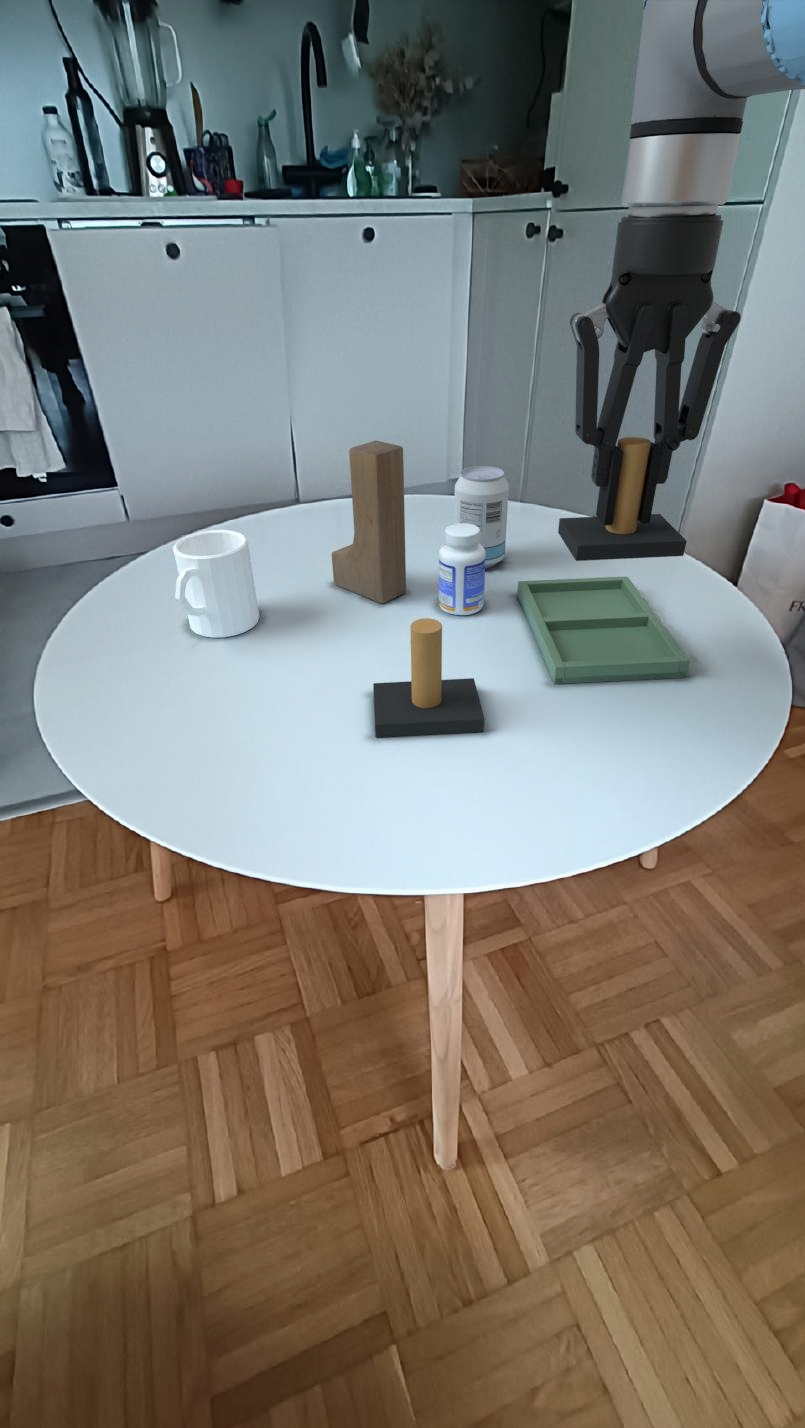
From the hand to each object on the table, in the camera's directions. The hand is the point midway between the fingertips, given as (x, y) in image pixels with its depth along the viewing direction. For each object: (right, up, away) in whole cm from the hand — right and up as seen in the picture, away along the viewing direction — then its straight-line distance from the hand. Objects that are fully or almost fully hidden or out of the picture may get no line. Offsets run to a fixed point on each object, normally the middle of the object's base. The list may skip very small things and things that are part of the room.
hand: (622, 518), depth 67 cm
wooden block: (-25, -2, +25) cm, 35 cm away
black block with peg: (-18, -18, +2) cm, 26 cm away
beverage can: (-10, +2, +31) cm, 33 cm away
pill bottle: (-13, -5, +20) cm, 25 cm away
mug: (-42, -9, +17) cm, 46 cm away
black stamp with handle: (0, -2, +2) cm, 3 cm away
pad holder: (+1, -9, +14) cm, 17 cm away
